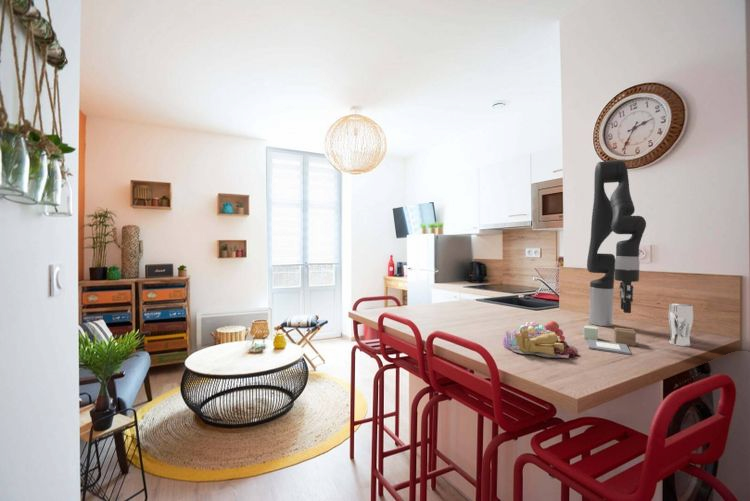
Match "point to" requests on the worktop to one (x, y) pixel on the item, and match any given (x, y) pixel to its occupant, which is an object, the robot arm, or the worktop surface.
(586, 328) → the sage cube
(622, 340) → the walnut block
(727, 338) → the worktop surface
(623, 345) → the pad
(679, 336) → the beer glass
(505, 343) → the candy landscape model
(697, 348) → the worktop surface
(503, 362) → the worktop surface
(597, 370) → the worktop surface
